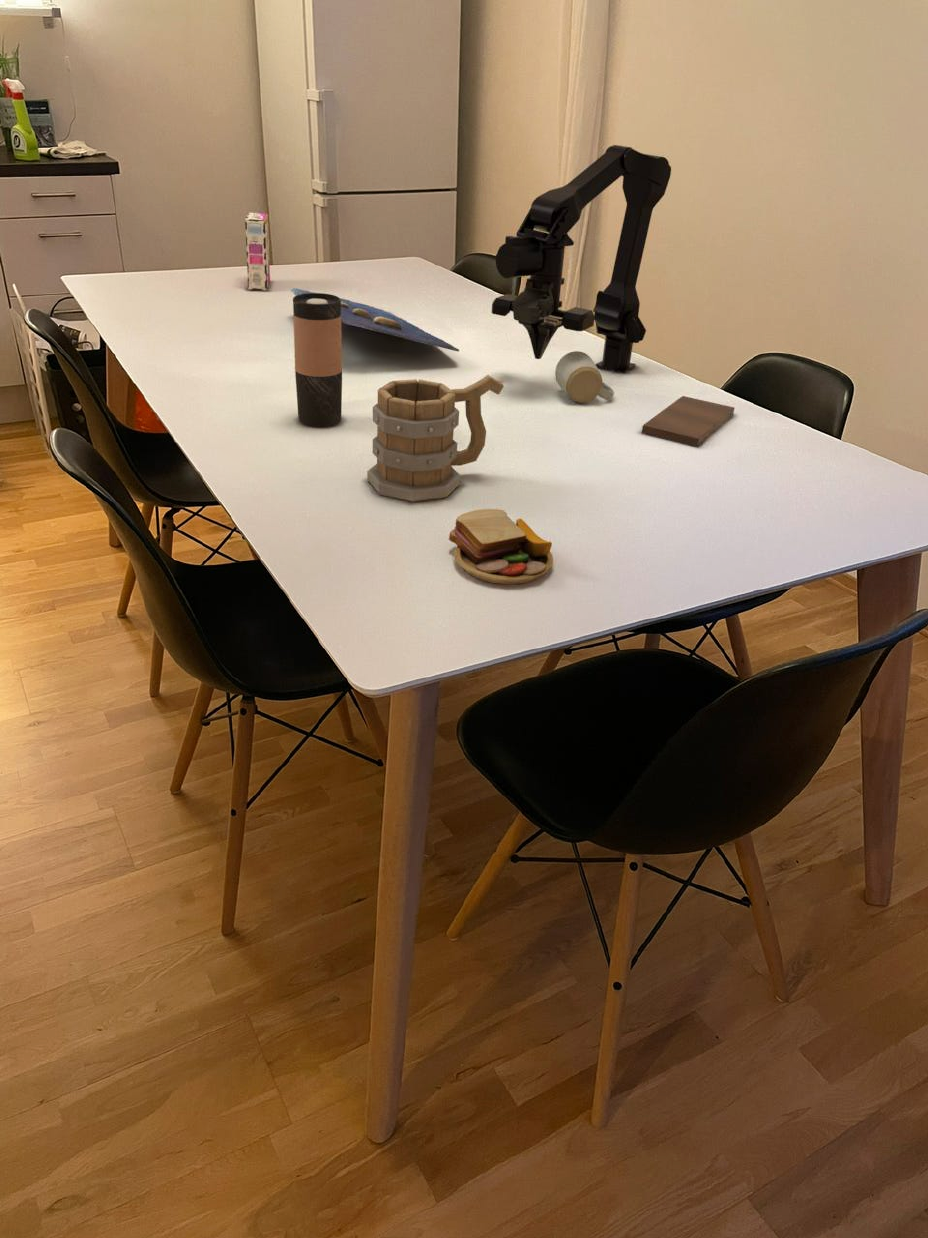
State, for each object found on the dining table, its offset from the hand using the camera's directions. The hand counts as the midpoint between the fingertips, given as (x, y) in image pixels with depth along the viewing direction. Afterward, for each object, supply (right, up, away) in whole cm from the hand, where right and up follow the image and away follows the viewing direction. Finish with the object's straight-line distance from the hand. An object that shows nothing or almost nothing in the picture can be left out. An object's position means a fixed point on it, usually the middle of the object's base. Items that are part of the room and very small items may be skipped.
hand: (538, 358), depth 180 cm
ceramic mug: (+8, -8, -1) cm, 12 cm away
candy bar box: (-65, +34, +59) cm, 94 cm away
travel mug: (-38, -16, -20) cm, 46 cm away
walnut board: (+26, -15, -11) cm, 32 cm away
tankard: (-18, -29, -38) cm, 51 cm away
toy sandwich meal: (-10, -42, -59) cm, 73 cm away
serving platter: (-35, +10, +23) cm, 43 cm away
